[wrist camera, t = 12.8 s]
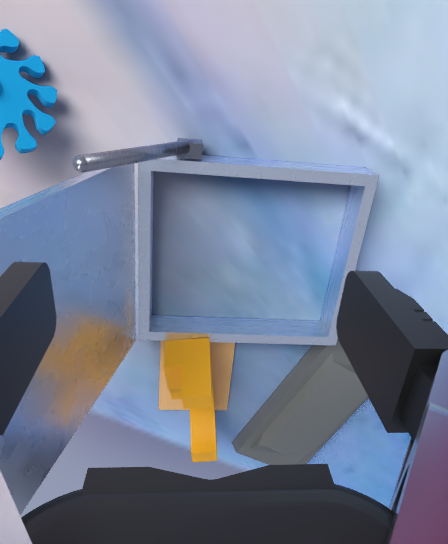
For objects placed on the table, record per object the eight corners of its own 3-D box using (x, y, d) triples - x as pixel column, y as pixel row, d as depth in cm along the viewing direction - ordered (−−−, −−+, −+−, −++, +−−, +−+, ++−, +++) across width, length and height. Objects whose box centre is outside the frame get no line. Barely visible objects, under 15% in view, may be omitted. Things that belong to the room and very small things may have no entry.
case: (369, 151, 37) (383, 158, 34) (327, 328, 45) (335, 345, 42) (142, 133, 34) (138, 138, 32) (141, 322, 43) (138, 340, 40)
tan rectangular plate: (235, 339, 45) (235, 341, 44) (226, 407, 49) (226, 410, 49) (160, 336, 44) (160, 339, 43) (159, 407, 48) (158, 409, 48)
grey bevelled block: (229, 438, 52) (232, 462, 49) (325, 323, 45) (335, 342, 42) (294, 463, 55) (300, 486, 52) (392, 358, 48) (406, 378, 45)
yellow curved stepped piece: (165, 340, 40) (161, 397, 35) (209, 337, 40) (211, 394, 36) (177, 408, 48) (176, 463, 43) (214, 406, 48) (217, 460, 43)
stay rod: (196, 139, 33) (199, 165, 25) (195, 152, 34) (198, 182, 25) (102, 131, 33) (70, 156, 24) (103, 144, 33) (71, 173, 24)
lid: (-80, 254, 14) (-115, 248, 15) (-3, 550, 22) (-26, 544, 22) (134, 157, 32) (117, 154, 32) (135, 340, 40) (121, 338, 40)
